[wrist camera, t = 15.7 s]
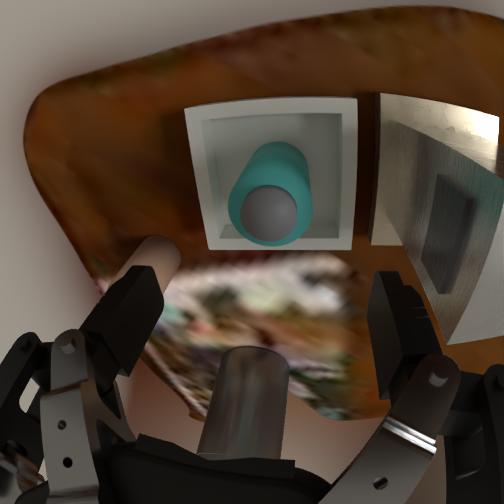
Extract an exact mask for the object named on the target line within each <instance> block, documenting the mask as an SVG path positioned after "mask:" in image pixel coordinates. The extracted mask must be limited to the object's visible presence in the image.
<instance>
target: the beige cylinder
mask: <svg viewBox="0 0 504 504" xmlns="http://www.w3.org/2000/svg"><path fill="white" fill-rule="evenodd" d="M180 262H181V255H180V252H179V250H178V248H177V247H176V245H175V244H174V243H173V242H172V241H170V240H169V239H167V238H165V237H163V236H159V235H152V236H149V237H147V238H146V239H145V240H144V241H143V242H142V243H141V245H140V246H139V247H138V248H137V250H136V251H135V252H134V253H133V255H132V256H131V257H130V258H129V260H128V261H127V262H126V263H125V265H124V266H123V267H122V268H121V270H120V271H119V272H118V274H117V275H116V276H115V278H114V279H113V280H112V282H111V283H110V284H109V286H108V289H109V287H110V286H111V285H112V284H113V283H115V282H116V281H117V280H119V279H120V278H121V277H123V276H124V275H125V273H126V272H127V271H128V270H129V268H130V267H131V266H132V265H146V266H152V267H153V268H154V270H155V273H156V277H157V280H158V283H159V286H160V289H161V291H162V294H163V293H164V292H165V290H166V288H167V286H168V284H169V283H170V281H171V279H172V277H173V275H174V274H175V272H176V270H177V268H178V267H179V265H180ZM108 289H107V290H108Z"/></svg>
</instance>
